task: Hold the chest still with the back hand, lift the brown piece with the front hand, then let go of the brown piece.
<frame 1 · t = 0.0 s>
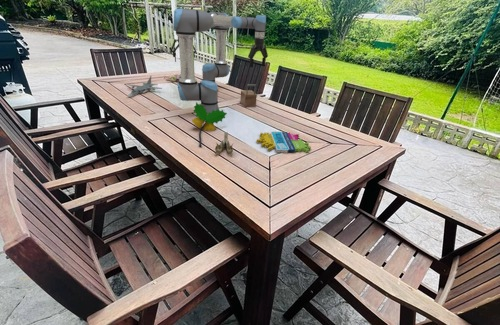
front hand: (184, 61, 211), 28 cm above the table, tool pointing down, fingers open, 13 cm apart
back hand: (257, 66, 213), 28 cm above the table, tool pointing down, fingers open, 13 cm apart
airplane: (143, 92, 227), on the table
ornament: (209, 128, 165), on the table
toy: (178, 79, 278), on the table
jawbone: (224, 151, 138), on the table
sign: (281, 143, 152), on the table
chest: (247, 104, 215), on the table
brown piece: (249, 88, 208), point 13 cm above the table, hinge at 0.0°
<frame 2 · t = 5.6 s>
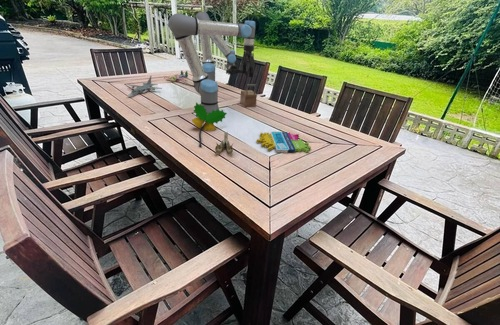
front hand: (247, 75, 199), 24 cm above the table, tool pointing down, fingers open, 13 cm apart
back hand: (239, 73, 228), 19 cm above the table, tool horizontal, fingers open, 13 cm apart
nothing on the table moved.
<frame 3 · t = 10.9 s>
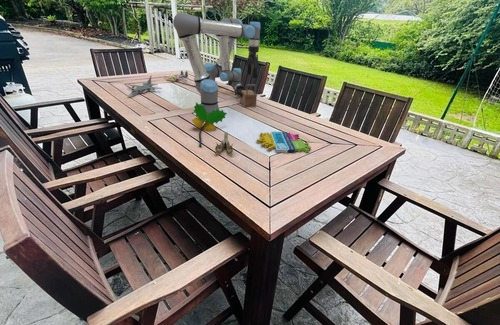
front hand: (251, 76, 199), 24 cm above the table, tool pointing down, fingers open, 13 cm apart
back hand: (247, 95, 213), 7 cm above the table, tool horizontal, fingers closed on chest, 9 cm apart
chest: (247, 104, 215), on the table, touching back hand
everything else where it was.
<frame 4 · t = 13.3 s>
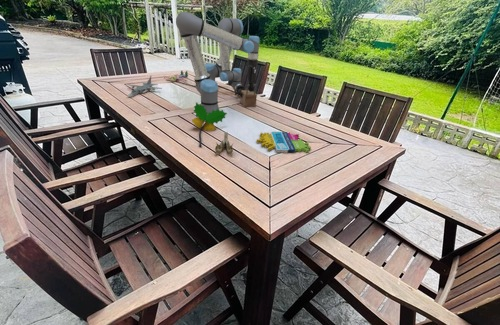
front hand: (250, 91, 204), 12 cm above the table, tool pointing down, fingers closed on brown piece, 2 cm apart
back hand: (247, 95, 213), 7 cm above the table, tool horizontal, fingers closed on chest, 9 cm apart
chest: (247, 104, 215), on the table, touching back hand
brown piece: (249, 88, 208), point 13 cm above the table, hinge at 0.0°, touching front hand
everything else where it was.
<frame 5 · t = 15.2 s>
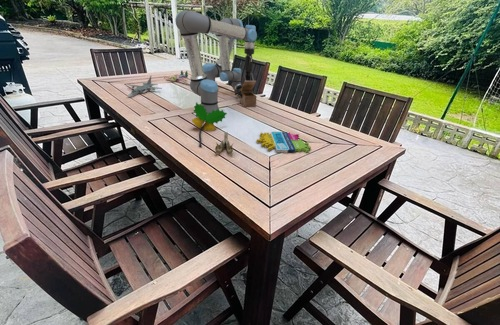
front hand: (247, 80, 209), 19 cm above the table, tool pointing down, fingers closed on brown piece, 2 cm apart
back hand: (247, 95, 214), 7 cm above the table, tool horizontal, fingers closed on chest, 9 cm apart
chest: (247, 104, 215), on the table, touching back hand
brown piece: (247, 82, 210), point 17 cm above the table, hinge at 46.5°, touching front hand
everything else where it was.
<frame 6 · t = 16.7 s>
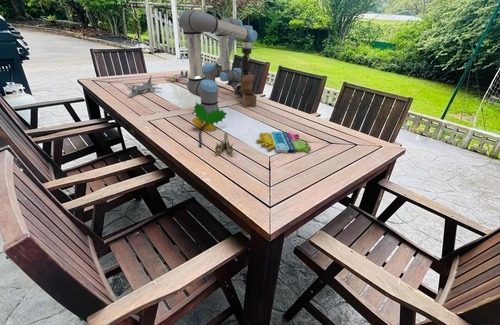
front hand: (245, 78, 215), 18 cm above the table, tool pointing down, fingers open, 2 cm apart
back hand: (247, 95, 213), 7 cm above the table, tool horizontal, fingers closed on chest, 9 cm apart
chest: (247, 104, 215), on the table, touching back hand
brown piece: (245, 80, 213), point 17 cm above the table, hinge at 74.5°
everything else where it was.
when the back hand's fingers open (7 cm above the table, at t = 20.7 s): chest stays where it is, on the table.
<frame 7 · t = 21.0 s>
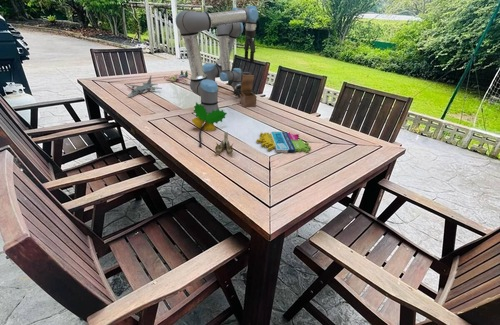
front hand: (248, 61, 202), 33 cm above the table, tool pointing down, fingers open, 13 cm apart
back hand: (247, 95, 214), 7 cm above the table, tool horizontal, fingers open, 12 cm apart
chest: (247, 104, 215), on the table
brown piece: (246, 81, 213), point 17 cm above the table, hinge at 73.7°
everything else where it was.
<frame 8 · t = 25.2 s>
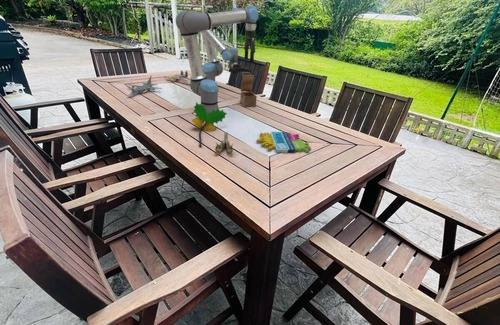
front hand: (248, 61, 202), 33 cm above the table, tool pointing down, fingers open, 13 cm apart
back hand: (242, 72, 218), 22 cm above the table, tool horizontal, fingers open, 13 cm apart
nothing on the table moved.
at the end: brown piece at +74° (first picture: +0°); the front hand is holding nothing; the back hand is holding nothing; chest tilted 0°; chest never tilted more than 1° during the clip; chest moved 0.1 cm from its start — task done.
